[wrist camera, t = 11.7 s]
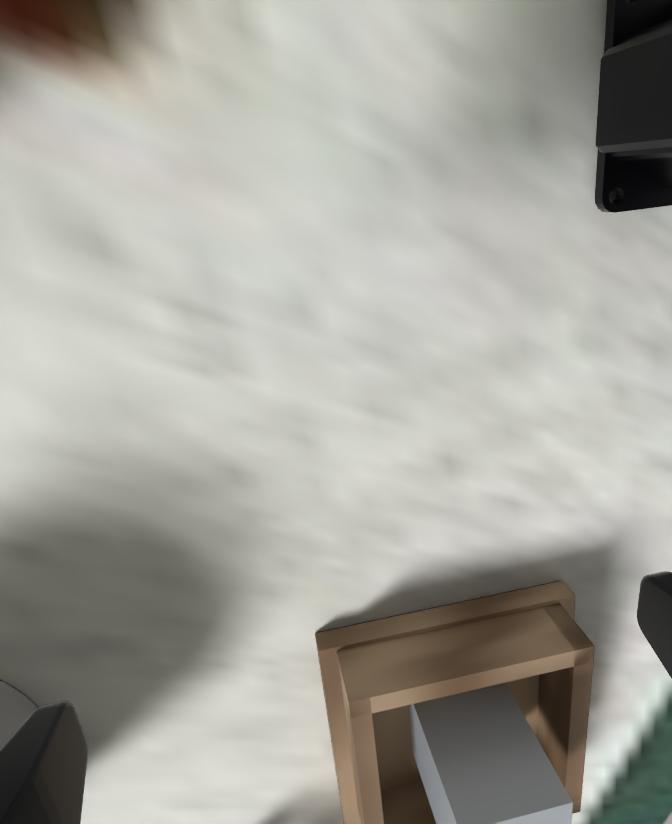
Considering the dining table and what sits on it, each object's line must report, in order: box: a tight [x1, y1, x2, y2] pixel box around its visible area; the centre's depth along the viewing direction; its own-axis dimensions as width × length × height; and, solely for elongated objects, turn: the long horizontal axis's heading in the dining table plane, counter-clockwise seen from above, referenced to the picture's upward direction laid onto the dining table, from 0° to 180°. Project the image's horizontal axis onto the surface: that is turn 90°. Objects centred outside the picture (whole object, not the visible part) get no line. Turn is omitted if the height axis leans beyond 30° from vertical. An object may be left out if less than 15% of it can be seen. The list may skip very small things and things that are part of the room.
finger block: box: [409, 683, 573, 824], centre depth 23 cm, size 4×4×6 cm
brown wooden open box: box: [315, 581, 595, 824], centre depth 25 cm, size 11×15×6 cm
